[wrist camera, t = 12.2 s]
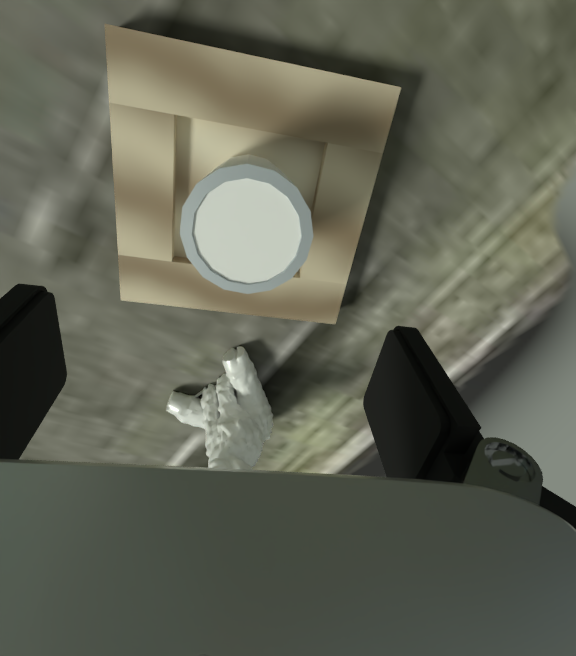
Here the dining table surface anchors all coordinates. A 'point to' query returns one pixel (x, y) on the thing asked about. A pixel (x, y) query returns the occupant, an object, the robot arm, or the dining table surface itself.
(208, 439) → the sitting furry creature
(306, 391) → the dining table surface
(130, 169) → the coaster board
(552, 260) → the dining table surface
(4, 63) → the dining table surface
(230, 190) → the white cup
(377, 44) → the dining table surface
